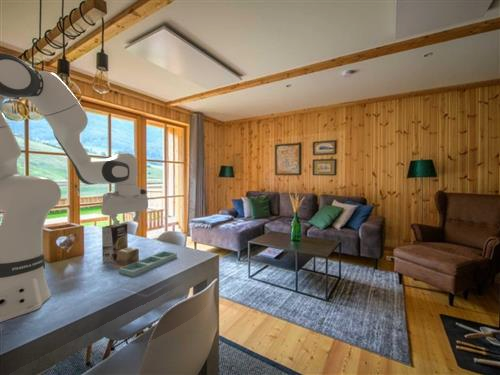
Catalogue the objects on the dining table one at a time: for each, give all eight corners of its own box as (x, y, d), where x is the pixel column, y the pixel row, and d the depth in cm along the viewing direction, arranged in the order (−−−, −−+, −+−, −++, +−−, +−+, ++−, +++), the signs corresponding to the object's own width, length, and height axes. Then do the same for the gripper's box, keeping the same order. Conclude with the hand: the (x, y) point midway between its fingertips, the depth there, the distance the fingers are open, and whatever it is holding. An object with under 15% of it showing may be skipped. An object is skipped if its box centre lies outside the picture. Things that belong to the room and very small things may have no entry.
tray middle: (149, 270, 98) (149, 264, 98) (136, 267, 101) (136, 261, 101) (164, 263, 105) (164, 258, 105) (150, 261, 108) (150, 256, 108)
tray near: (133, 277, 90) (133, 271, 90) (119, 274, 94) (118, 268, 94) (149, 270, 98) (149, 264, 98) (136, 267, 101) (136, 261, 101)
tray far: (164, 263, 105) (164, 258, 105) (150, 261, 108) (150, 256, 108) (176, 258, 112) (176, 253, 112) (163, 255, 116) (163, 251, 115)
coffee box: (114, 263, 106) (113, 227, 105) (101, 262, 107) (101, 226, 106) (128, 256, 114) (128, 223, 114) (117, 255, 116) (116, 222, 115)
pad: (125, 270, 97) (125, 268, 97) (111, 267, 101) (111, 265, 101) (143, 263, 105) (143, 261, 105) (129, 260, 109) (129, 258, 109)
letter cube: (126, 266, 99) (126, 252, 99) (117, 264, 102) (116, 250, 101) (138, 262, 105) (138, 248, 104) (129, 260, 107) (129, 246, 107)
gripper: (108, 192, 91) (108, 228, 91) (150, 190, 109) (150, 220, 110) (97, 192, 93) (97, 226, 94) (140, 190, 112) (140, 219, 112)
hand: (126, 223), depth 102 cm, fingers open, 8 cm apart
